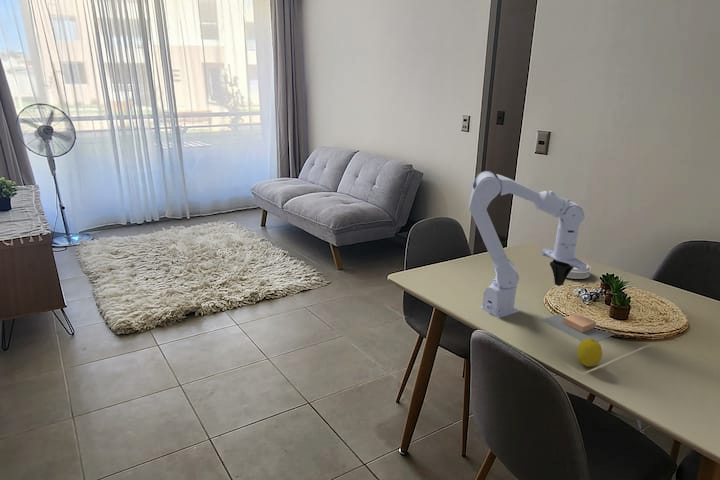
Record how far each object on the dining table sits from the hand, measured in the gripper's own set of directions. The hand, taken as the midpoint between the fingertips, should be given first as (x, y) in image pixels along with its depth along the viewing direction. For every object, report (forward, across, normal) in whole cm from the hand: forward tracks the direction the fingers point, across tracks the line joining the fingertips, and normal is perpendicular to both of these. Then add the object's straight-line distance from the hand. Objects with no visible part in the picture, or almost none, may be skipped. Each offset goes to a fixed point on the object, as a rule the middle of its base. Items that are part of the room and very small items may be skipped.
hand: (558, 284), depth 140 cm
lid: (+10, +19, -32) cm, 39 cm away
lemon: (+10, -24, +16) cm, 30 cm away
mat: (+10, -9, +1) cm, 14 cm away
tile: (+8, -6, 0) cm, 10 cm away
